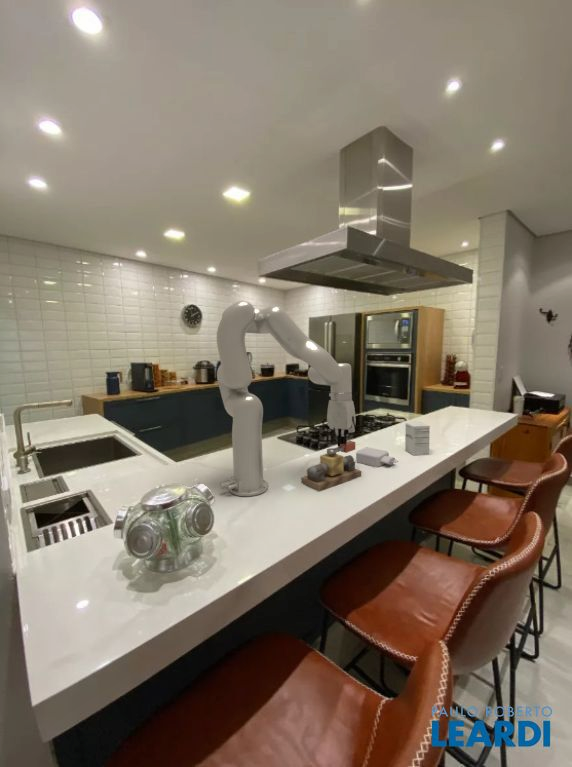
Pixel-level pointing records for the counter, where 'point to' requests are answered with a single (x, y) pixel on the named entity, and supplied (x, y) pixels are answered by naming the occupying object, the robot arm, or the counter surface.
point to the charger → (374, 457)
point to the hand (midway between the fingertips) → (342, 446)
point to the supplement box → (417, 438)
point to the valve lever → (342, 448)
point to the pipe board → (331, 480)
